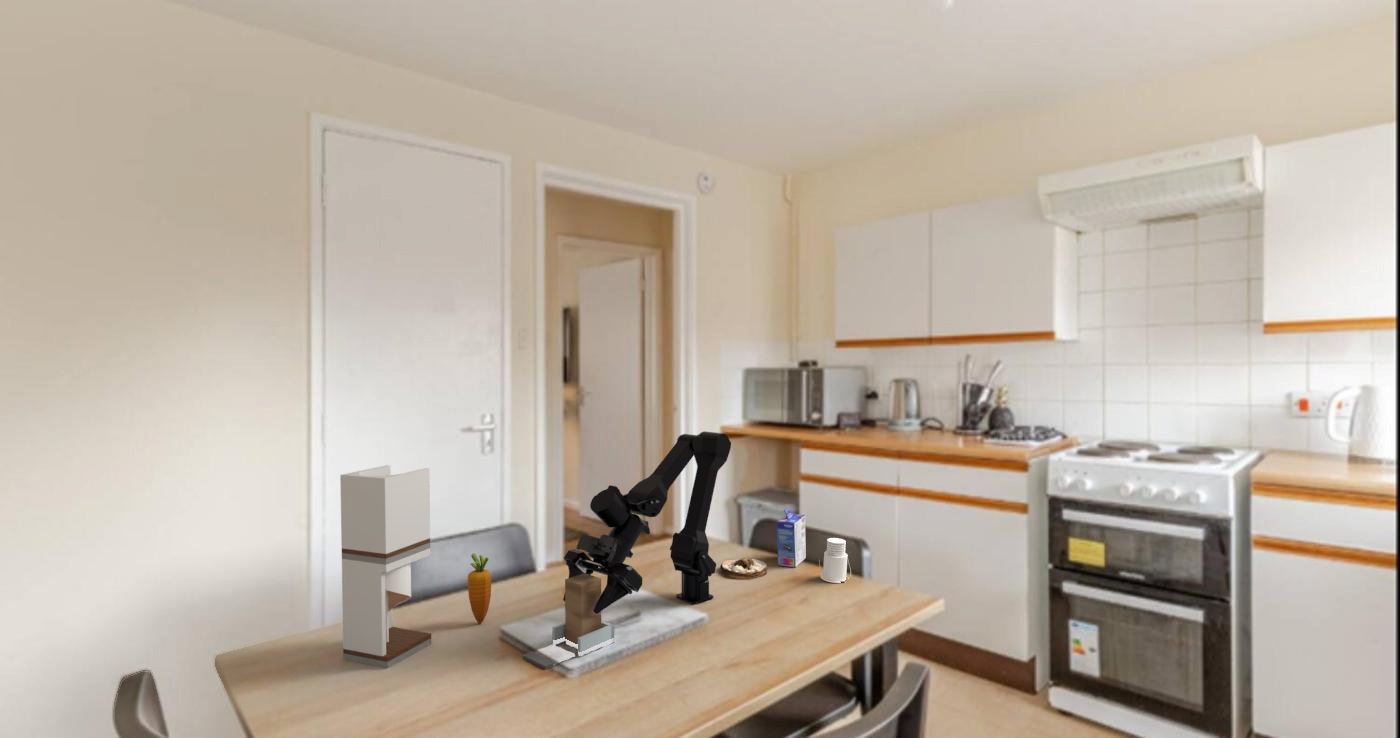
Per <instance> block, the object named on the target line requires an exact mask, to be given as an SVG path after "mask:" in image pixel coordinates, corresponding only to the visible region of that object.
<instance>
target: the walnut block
mask: <svg viewBox="0 0 1400 738" xmlns="http://www.w3.org/2000/svg"><path fill="white" fill-rule="evenodd" d="M564 594H565V601H564V602H565V603H564V609H565V610H564V612H565V613H564V614H565V615H564V616H565V617H564V618H565V621H564V623H565V639H567V640H569V641H571V642H573V643H575V644H578V637H581V636H583V635H586V634H588V633H591V632H593V631H596V630H598V629H601V620H602V611H601V612H600V613H598V614H596V613H594V611H593V610H594V608H595V606H596V603H597V602H598V600H599V598H600V596H601V594H602V577H598V576H594V575H593V574H591V575H589V574H586V573H584V574H581V575H577V576H574V577H571V578H569V577H568V578H565V579H564Z"/></svg>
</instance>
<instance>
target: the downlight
mask: <svg viewBox="0 0 1400 738" xmlns="http://www.w3.org/2000/svg"><path fill="white" fill-rule="evenodd" d="M846 542H847V541H846V540H845V539H843V538H838V537H830V538H827V541H826V551H824V553H823V570H822V568H821V564H820V561H821V560H819V561H818V563H819V564H818V565H819V569H820V572H821V574H820V579H822V581H825V582H828V583H831V584H833V583H834V584H842V583H841V582H840V581H845V580H846V577H847V574H848V573H847V572H848V571H847V569H848V567H851V566H850V565H851V564H848V563H850V562H849V558H848V556H849V555H848V553H846V544H847V543H846ZM848 565H849V566H848ZM849 570H850V571H852V569H851V568H849ZM851 576H852V573H850V577H851Z"/></svg>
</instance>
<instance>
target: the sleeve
mask: <svg viewBox="0 0 1400 738" xmlns="http://www.w3.org/2000/svg"><path fill="white" fill-rule="evenodd" d="M551 633H552V639H553V640H557V639H560V638H563V637H565V622H563V623H560V624H559V623H558V624H557V625H555V626H552V632H551ZM612 638H614V639H615V625H614V624H612V623H609V622H606V621H605V620H602V619H601V629H598V630H596V631H593V632H591V633H588V634H586V635H583V636H581V637H578V650H577V652H578V651H579V652H582V651H585V650H587V649H589V648H591V647H593V646H595V645H598V644H600V643H602V642H605V641H607V640H609V639H612ZM522 659H523V660H525V661H528V662H529V663H532V664H533V665H536V666H537V667H540V668H541V669H543V670H548V669H551V668H553V667H554V666H553V664H554V663H553V662H552V661H550V660H548V659H546V658H544V657H542V656H540V655H539V654H536V653H535V652H533V651H531V652H527V653H526V654H523V655H522Z"/></svg>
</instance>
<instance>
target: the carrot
mask: <svg viewBox="0 0 1400 738" xmlns="http://www.w3.org/2000/svg"><path fill="white" fill-rule="evenodd" d="M470 557H471V558H472V560H473V561H474V562H471V563H470V566H471V567H473V568H474V570H472V571H470V572H469V573H468V575H467V590H468V591H467V592H468V600H469V604H470V609H471V612H472V614H473V617H474V619H475V621H476V622H477V623H478V624H479V625H481V624H482V623H483V622H484V620H485V618H486V616H487V613H488V610H489V607H490V603H491V597H492V574H491V572H490V570H488V569H485V567H486V565H487V562H489V559H490V557H488V556H486V557H485V558H484V556H483V555H481V554H480V555H479V556H477V554H476V553H472V554H471V555H470ZM478 557H479V558H478Z"/></svg>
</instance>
